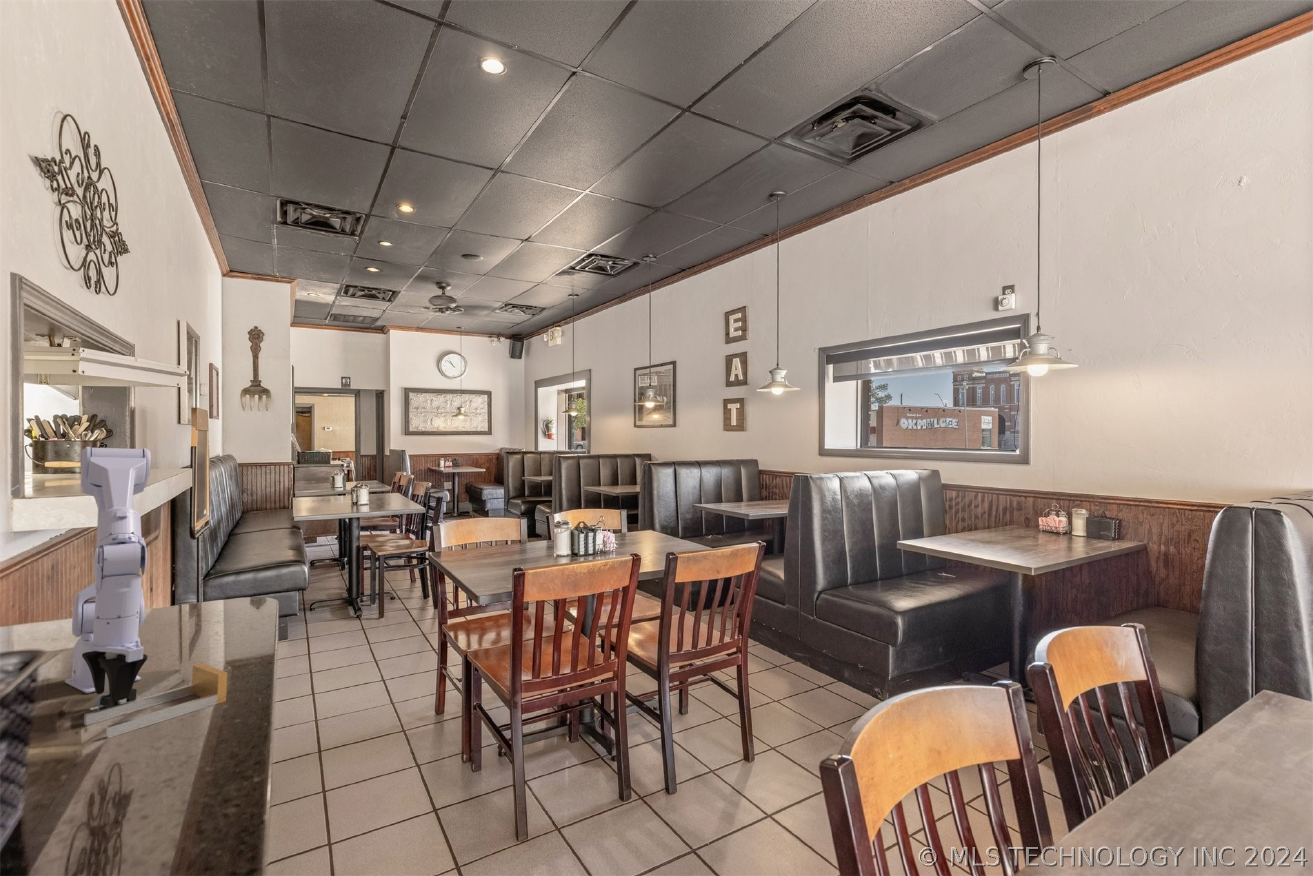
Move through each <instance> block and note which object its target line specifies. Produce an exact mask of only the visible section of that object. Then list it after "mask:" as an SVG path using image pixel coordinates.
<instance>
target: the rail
mask: <svg viewBox="0 0 1313 876" xmlns="http://www.w3.org/2000/svg"><path fill="white" fill-rule="evenodd" d="M191 677H192V679H191V684H187V685H184V686H180V687H177V688H174V689H170V690H166V691H163V692H160V693H159V692H158V693H155V694H152V695H149V696H145V697H141V698H138V699H137V698H136V700H133V701H130V702H126V703H123V704H119V705H115V706H112V707H108V708H105V709H101V710H98V711H97V710H93V711H90V712H87V713H84V714H83V725H85V726H89V725H93V724H97V723H99V722H102V721H107V720H109V719H114V718H116V717H119V716H125V715H127V714H130V713H134V712H137V711H139V710H141V711H142V710H143V709H147V708H151V707H154V706H158V705H160V704H164V703H167V702H170V701H174V700H177V699H182V698H185V697H189V696H191V695H195V696H197V697H200V698H196V699H193V700H189V701H187V702H183V703H179V704H176V705H173V706H172V705H171V706H169V707H165V708H163V709H160V710H156V711H152V712H150V713H146V714H143V715H140V716H136V717H133V718H130V719H127V720H123V721H119V722H115V723H112V724H110V725H106V729H105V730H106V733H105V737H106V738H107V739H111V738H113V737H116V736H120V735H123V734H127V733H130V732H132V731H135V730H138V729H141V728H145V727H147V726H151V725H155V724H157V723H161V722H164V721H167V720H170V719H173V718H178V717H180V716H183V715H186V714H189V713H193V712H195V711H199V710H202V709H206V708H208V707H209V708H210V707H212V706H215V705H218V704H221V703H224V702H226V701H227V689H228V687H227V686H228V684H227V682H228V672H227V671H224V670H222V669H219V668H215V667H213V666H212V665H208V664H205V663H202V662H201V663H197V664H196V663H195V664H193V665H192V674H191Z"/></svg>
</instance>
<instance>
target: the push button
mask: <svg viewBox="0 0 1313 876" xmlns="http://www.w3.org/2000/svg"><path fill="white" fill-rule="evenodd" d="M113 658H117V653H110V652H106V654H103V655H101V656H100V657H99V659H98V661H99V662H100V667H101V668H103V666H102V665H101V661H104V660H109V659H113ZM137 690H138V689H136V688H133V687H132V690H131V693H130V695H129V698H127V699H123V700H119V701H116V702H112V701H111V698H110V691H109V681H108V677H107V674H105V687H104V692H103V693H102V695H100V696H98V698H97V704H96V705H95V706H93V707H90V708H89V710H90V711H95V710H96V711H98V710H101V709H105V708H108V707H112V706H115V705H119V704H123V703H126V702H130V701H133V700H137Z"/></svg>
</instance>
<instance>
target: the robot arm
mask: <svg viewBox="0 0 1313 876" xmlns="http://www.w3.org/2000/svg"><path fill="white" fill-rule="evenodd" d="M81 452H82V453H81V461H80V462H81V463H80V488H82V493H84V494H87V495H89V496H91V497H93V498H94V500H95V504H96V507H97V523H96V524H97V526H96V527H97V528H96V548H95V551H94V555H93V556H94V557H93V575H94V582H93V583H92V584H90V585H87V586H86V587H85V588H83V589H81V590H80V591H79V592H77V594H76V596H74V602H73V603H74V605H73V609H72V618H71V619H72V622H71V634H72V635H73V636H74V637H75V638H78V640H77V641H76V642H75V644H74V647H73V653H72V656H73V657H72V667H71V668H72V670H71V671H72V672H71V678H67V679H65V680H64V683H65V684H67V685H69V686H71V687H74V688H75V689H77V690H79V691H82V692H83V693H85V694H90V693H93V692H95V694H97V695H101V694H102V695H103V692H104V687H105V674H107V677H108V681H109V691H110V698H111V701H112V702H116V701H119V700H123V699H127V698H129V695H130V693H131V690H132V688H133V686H134V684H135V682H136V681H140V680H141V676H139V675H138V674H139V673H140V671H141V669H142V667H143V665H145V663H146V661H147V660H148V654H145V653H144V646H142V645H141V640H140V636H139V629H140V628H141V627H142V626H143V625H144V620H145V610H146V609H145V598H144V590H143V588H142V577H143V576H144V575H145V573H146V570H147V564H148V550H147V549H148V548H147V545H146V542H145V538H144V537H142V521H141V514H140V513H139V512H138V511H136V510H135V509H133V498H134V497H133V496H135V495H138V494H141V493H143V492H144V491H145V488H146V487H147V484H148V480H149V477H150V474H151V465H152V463H151V462H152V456H151V455H152V454H151V451H150V449H148V448H147V447H143V448H120V447H119V448H118V447H117V448H116V447H114V448H113V447H91V446H86V447H85V448H83V449H82V451H81ZM140 569H141V574H140ZM141 575H142V576H141ZM106 652H110V653H117V658H113V659H109V660H104V661H101V665H102V666H103V668H101V667H100V662H99V661H98V659H99V657H100V656H101V655H103V654H106Z"/></svg>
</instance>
